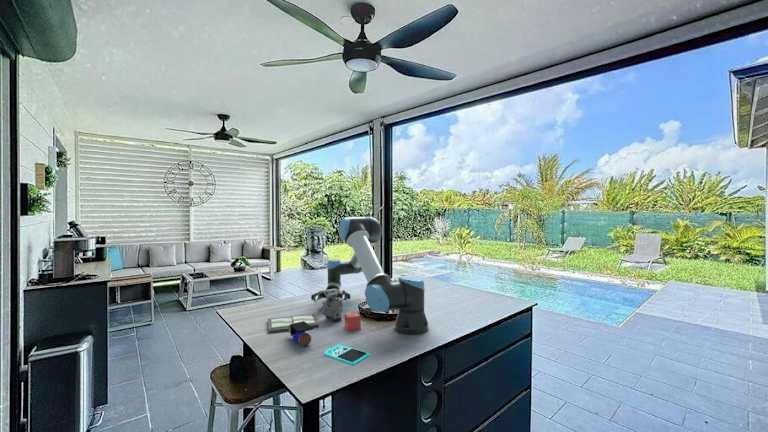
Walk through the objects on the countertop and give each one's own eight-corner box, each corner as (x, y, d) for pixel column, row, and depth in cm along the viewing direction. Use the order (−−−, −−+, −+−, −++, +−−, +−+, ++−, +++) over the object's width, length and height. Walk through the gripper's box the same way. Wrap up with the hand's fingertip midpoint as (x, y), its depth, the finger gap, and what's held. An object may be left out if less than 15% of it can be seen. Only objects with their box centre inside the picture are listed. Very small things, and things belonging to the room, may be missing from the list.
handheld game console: (339, 346, 139) (339, 343, 139) (370, 356, 130) (370, 352, 130) (321, 355, 131) (321, 352, 131) (353, 367, 122) (353, 363, 122)
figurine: (315, 319, 169) (314, 289, 169) (336, 314, 176) (335, 285, 175) (322, 325, 162) (322, 293, 161) (344, 320, 168) (344, 289, 168)
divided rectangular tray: (318, 327, 159) (318, 323, 159) (268, 333, 152) (268, 329, 152) (314, 316, 174) (314, 313, 174) (268, 321, 167) (268, 318, 167)
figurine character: (287, 340, 148) (298, 349, 135) (286, 322, 148) (297, 329, 136) (302, 336, 152) (315, 345, 139) (301, 319, 152) (314, 325, 139)
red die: (360, 329, 156) (360, 315, 156) (347, 330, 154) (347, 317, 154) (357, 324, 162) (357, 311, 162) (344, 326, 160) (344, 313, 160)
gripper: (355, 296, 195) (354, 308, 174) (310, 297, 193) (304, 309, 172) (355, 283, 195) (354, 293, 174) (310, 284, 193) (304, 294, 172)
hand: (329, 301), depth 173 cm, fingers open, 13 cm apart
